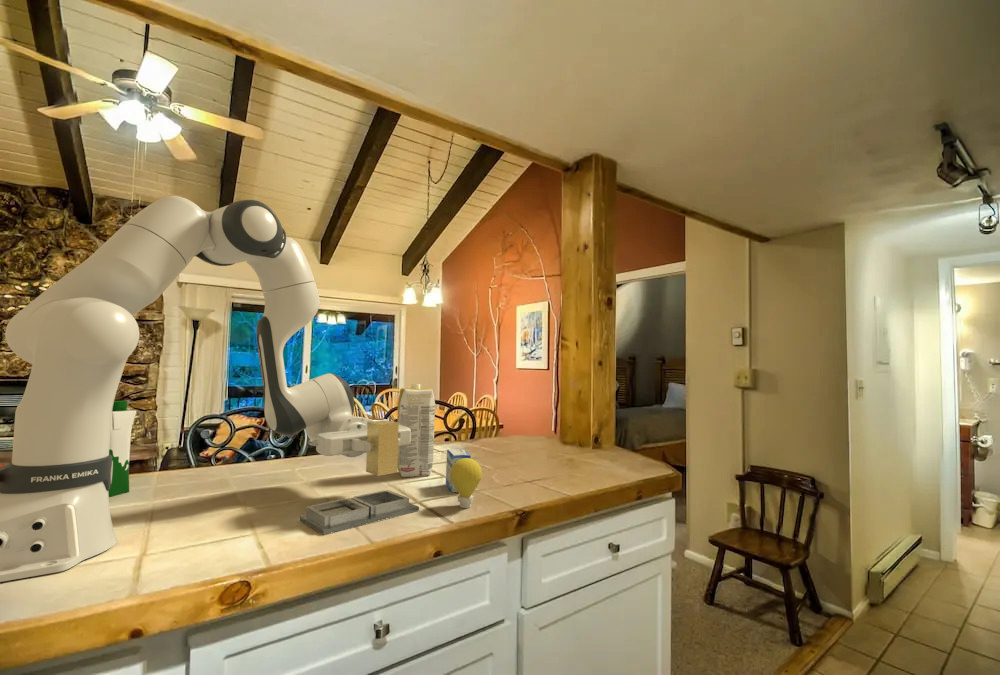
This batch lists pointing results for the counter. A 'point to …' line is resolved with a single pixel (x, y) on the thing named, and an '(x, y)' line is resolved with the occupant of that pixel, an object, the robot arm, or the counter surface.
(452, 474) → the light bulb
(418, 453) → the juice carton
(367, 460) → the wooden block
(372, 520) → the grey double tray
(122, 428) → the milk carton
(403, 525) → the counter surface
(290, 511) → the counter surface
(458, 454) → the medicine box
